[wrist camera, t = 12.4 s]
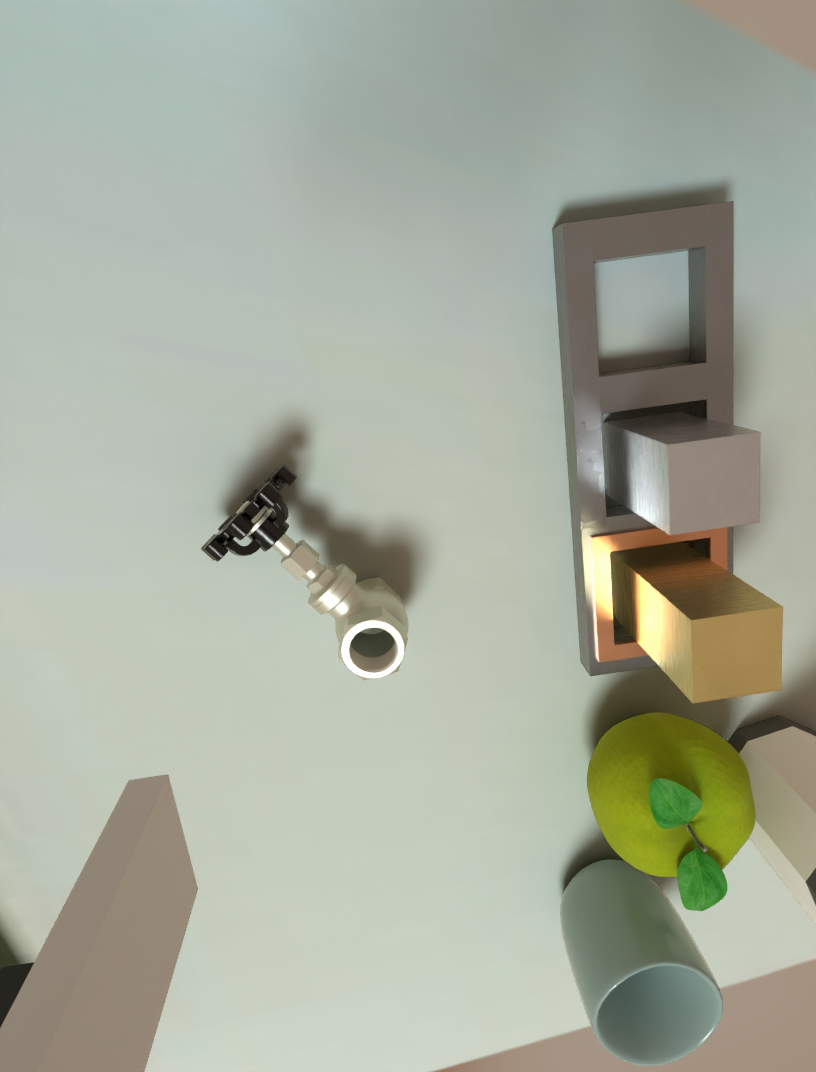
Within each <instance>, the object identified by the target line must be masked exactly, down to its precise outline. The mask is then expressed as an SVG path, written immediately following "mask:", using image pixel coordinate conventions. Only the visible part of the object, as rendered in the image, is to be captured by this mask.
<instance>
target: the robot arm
mask: <svg viewBox="0 0 816 1072" xmlns="http://www.w3.org/2000/svg"><path fill="white" fill-rule="evenodd" d="M197 890H198V887H197V883H196V880H195V876H194V872H193V868H192V864H191V860H190V857H189V853H188V849H187V845H186V841H185V837H184V834H183V830H182V826H181V822H180V818H179V814H178V811H177V807H176V803H175V799H174V795H173V791H172V788H171V784H170V780H169V776H168V775H161V776H154V777H148V778H141V779H134V780H129V781H128V783H127V785H126V787H125V789H124V791H123V793H122V795H121V797H120V798H119V800H118V802H117V804H116V806H115V808H114V810H113V812H112V814H111V816H110V818H109V820H108V822H107V824H106V825H105V827H104V829H103V831H102V833H101V835H100V837H99V839H98V841H97V843H96V845H95V847H94V849H93V851H92V852H91V854H90V856H89V858H88V860H87V862H86V864H85V866H84V868H83V870H82V872H81V874H80V876H79V877H78V879H77V881H76V883H75V885H74V887H73V889H72V891H71V893H70V895H69V897H68V899H67V901H66V903H65V904H64V906H63V908H62V910H61V912H60V914H59V916H58V918H57V920H56V922H55V924H54V926H53V928H52V929H51V931H50V933H49V935H48V937H47V939H46V941H45V943H44V945H43V947H42V949H41V951H40V953H39V955H38V956H37V958H36V960H35V962H33V963H27V964H21V965H14V966H8V967H3V968H2V969H1V970H0V1072H144V1071H145V1068H146V1064H147V1061H148V1057H149V1054H150V1051H151V1047H152V1044H153V1040H154V1037H155V1033H156V1030H157V1027H158V1023H159V1020H160V1016H161V1013H162V1010H163V1006H164V1003H165V999H166V996H167V993H168V989H169V986H170V982H171V979H172V976H173V972H174V969H175V965H176V962H177V958H178V955H179V952H180V948H181V945H182V941H183V938H184V935H185V931H186V928H187V924H188V921H189V918H190V914H191V911H192V907H193V904H194V900H195V897H196V894H197Z"/></svg>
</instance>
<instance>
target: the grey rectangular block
mask: <svg viewBox="0 0 816 1072" xmlns="http://www.w3.org/2000/svg"><path fill="white" fill-rule="evenodd" d="M604 437H605V457H606V478H607V495H609V496H610V497H612V498H613V499H615V500H616V501H618V502H620V503H621V504H623V505H624V506H626V507H627V508H629V509H630V510H632V511H633V512H635V513H637V514H638V515H640V516H641V517H643V518H644V519H646V520H647V521H649V522H650V523H652V524H653V525H655V526H657V527H658V528H660V529H661V530H663V531H664V532H666V533H667V534H669V535H675V534H682V533H689V532H696V531H703V530H710V529H717V528H724V527H731V526H738V525H745V524H752V523H759V510H760V432H759V431H755V430H750V429H746V428H742V427H738V426H734V425H730V424H726V423H722V422H718V421H713V420H709V419H705V418H701V417H697V416H693V415H689V414H685V413H681V412H672V413H664V414H657V415H650V416H643V417H635V418H628V419H621V420H614V421H606V422H604Z"/></svg>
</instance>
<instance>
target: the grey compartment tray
mask: <svg viewBox="0 0 816 1072" xmlns="http://www.w3.org/2000/svg"><path fill="white" fill-rule="evenodd" d="M552 233H553V248H554V263H555V278H556V293H557V309H558V324H559V339H560V354H561V370H562V385H563V400H564V415H565V431H566V446H567V461H568V476H569V491H570V507H571V522H572V537H573V552H574V568H575V583H576V598H577V613H578V629H579V644H580V659H581V663H582V665H583V666H584V668H585V669H586V671H587V672H588V673H589V675H590V676H596V675H602V674H609V673H616V672H623V671H629V670H636V669H643V668H650V667H656V666H658V664H657V663H656V662H655V661H654V660H653V659H652V658H651V657H650V656H649V654H648V653H647V652H646V651H645V650H644V649H643V648H642V647H641V646H640V644H639V643H638V642H637V641H636V640H635V639H634V638H633V637H632V636H631V634H630V633H629V632H628V631H627V630H626V629H625V628H624V627H620V628H614V627H613V608H612V588H611V568H610V552H612V551H619V550H626V549H633V548H640V547H647V546H654V545H661V544H668V543H675V542H682V541H688V540H693V549H694V550H696V551H697V552H699V553H700V554H702V555H703V556H705V557H707V558H708V559H710V560H711V561H713V562H714V563H716V564H717V565H719V566H721V567H722V568H724V569H725V570H727V571H728V572H730V573H731V574H733V526H731V527H724V528H717V529H710V530H703V531H696V532H689V533H682V534H675V535H669V534H667V533H666V532H664V531H663V530H661V529H660V528H658V527H657V526H655V525H653V524H652V523H650V522H649V521H647V520H646V519H644V518H643V517H641V516H640V515H638V514H637V513H635V512H633V511H632V510H630V509H629V508H627V507H626V506H624V505H623V506H616V507H609V508H606V502H605V483H604V463H603V444H602V424H601V414H604V413H611V412H618V411H625V410H633V409H640V408H647V407H654V406H662V405H669V404H676V403H683V402H690V401H691V415H693V416H697V417H701V418H705V419H709V420H713V421H718V422H722V423H726V424H730V425H733V201H730V202H722V203H715V204H707V205H700V206H692V207H684V208H677V209H669V210H661V211H654V212H646V213H638V214H631V215H623V216H616V217H608V218H600V219H593V220H585V221H577V222H570V223H562V224H561V225H559V226H557V227H555V228H553V229H552ZM687 250H689V315H690V361H688V362H681V363H674V364H666V365H659V366H652V367H645V368H637V369H630V370H623V371H615V372H608V373H601V374H599V365H598V346H597V326H596V307H595V287H594V268H593V263H597V262H605V261H612V260H620V259H627V258H635V257H642V256H650V255H657V254H665V253H672V252H680V251H687Z"/></svg>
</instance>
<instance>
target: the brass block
mask: <svg viewBox="0 0 816 1072" xmlns="http://www.w3.org/2000/svg"><path fill="white" fill-rule="evenodd" d="M611 560H612V579H613V598H614V617H615V618H616V619H617V620H618V621H619V622H620V623H621V624H622V626H623V627H624V628H625V629H626V630H627V631H628V632H629V633H630V634H631V636H632V637H633V638H634V639H635V640H636V641H637V642H638V643H639V644H640V646H641V647H642V648H643V649H644V650H645V651H646V652H647V653H648V654H649V656H650V657H651V658H652V659H653V660H654V661H655V662H656V663H657V664H658V666H659V667H660V668H661V669H662V670H663V671H664V672H665V673H666V674H667V676H668V677H669V678H670V679H671V680H672V681H673V682H674V683H675V684H676V685H677V687H678V688H679V689H680V690H681V691H682V692H683V693H684V694H685V695H686V697H687V698H688V699H689V700H690V701H691V702H692V703H700V702H706V701H713V700H719V699H726V698H732V697H739V696H745V695H752V694H758V693H765V692H772V691H778V690H781V673H782V622H783V606H781V605H779V604H778V603H776V602H775V601H773V600H772V599H770V598H769V597H767V596H765V595H764V594H762V593H761V592H759V591H758V590H756V589H755V588H753V587H752V586H750V585H748V584H747V583H745V582H744V581H742V580H741V579H739V578H738V577H736V576H734V575H733V574H731V573H730V572H728V571H727V570H725V569H724V568H722V567H721V566H719V565H717V564H716V563H714V562H713V561H711V560H710V559H708V558H707V557H705V556H703V555H702V554H700V553H699V552H697V551H696V550H694V549H693V548H691V547H689V546H688V545H686V544H685V543H683V542H675V543H668V544H661V545H654V546H647V547H640V548H633V549H626V550H619V551H612V552H611Z"/></svg>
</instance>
